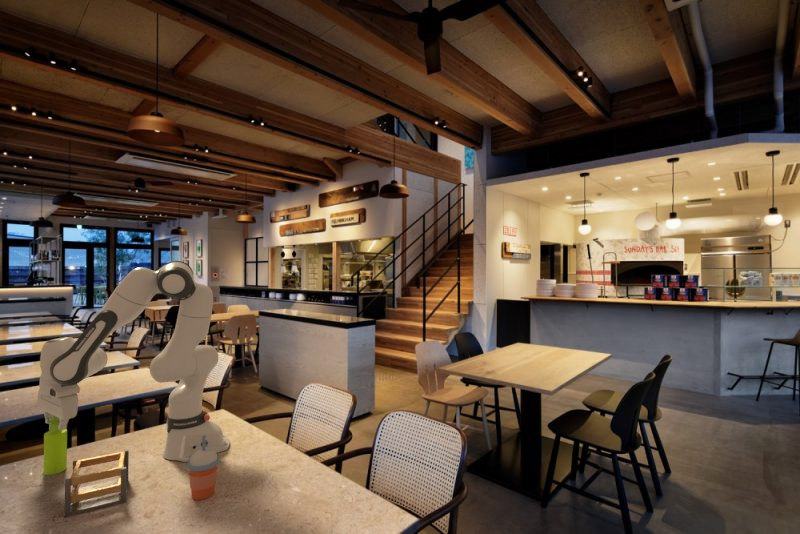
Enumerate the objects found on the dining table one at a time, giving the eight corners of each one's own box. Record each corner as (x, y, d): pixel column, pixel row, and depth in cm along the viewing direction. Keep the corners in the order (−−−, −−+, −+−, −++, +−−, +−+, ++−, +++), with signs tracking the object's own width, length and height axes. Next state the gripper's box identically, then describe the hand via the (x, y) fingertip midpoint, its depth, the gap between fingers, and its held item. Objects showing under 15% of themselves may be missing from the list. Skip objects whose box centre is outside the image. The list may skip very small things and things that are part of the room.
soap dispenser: (55, 476, 130) (56, 415, 130) (38, 473, 132) (39, 413, 132) (73, 467, 136) (74, 409, 136) (57, 465, 138) (58, 407, 137)
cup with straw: (185, 506, 115) (186, 445, 115) (186, 490, 124) (187, 433, 123) (220, 498, 120) (221, 439, 120) (218, 483, 128) (219, 427, 128)
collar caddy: (128, 479, 129) (128, 449, 129) (125, 502, 117) (126, 468, 117) (73, 492, 121) (73, 459, 121) (64, 517, 110) (64, 481, 110)
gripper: (31, 382, 136) (30, 422, 136) (59, 393, 126) (58, 436, 126) (54, 377, 141) (53, 416, 141) (82, 388, 132) (81, 429, 132)
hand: (55, 426), depth 134 cm, fingers open, 8 cm apart
